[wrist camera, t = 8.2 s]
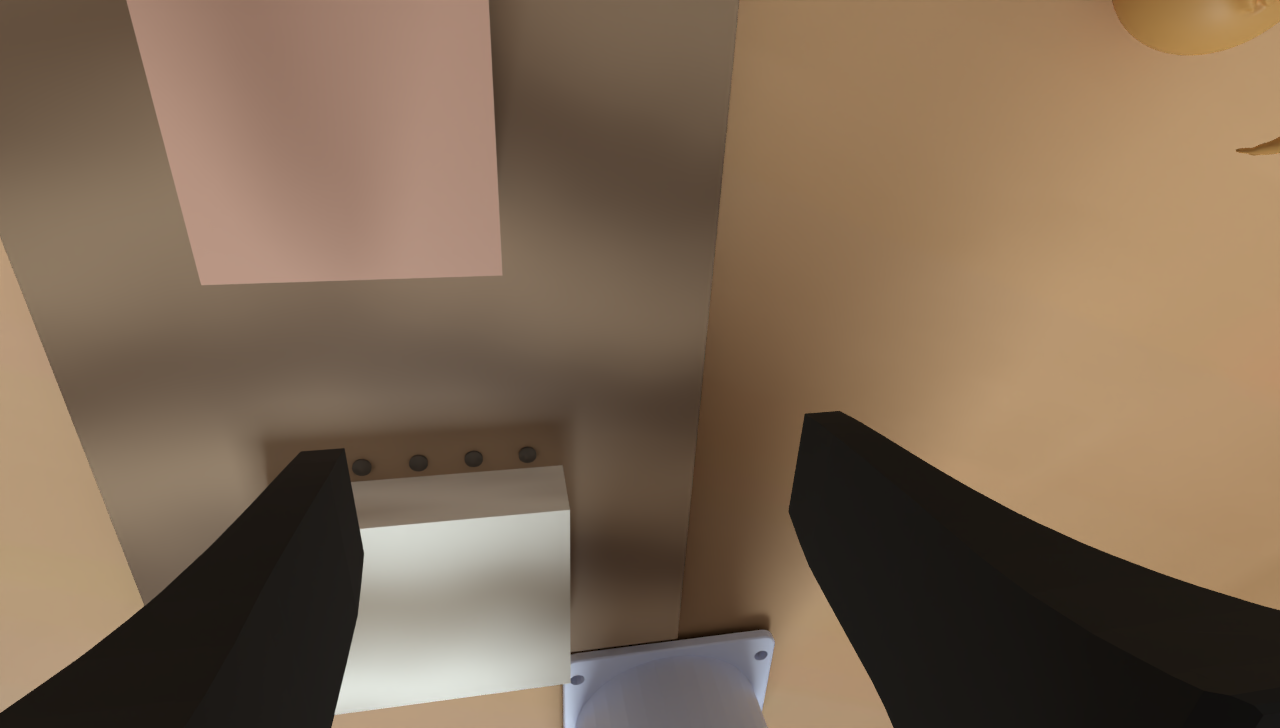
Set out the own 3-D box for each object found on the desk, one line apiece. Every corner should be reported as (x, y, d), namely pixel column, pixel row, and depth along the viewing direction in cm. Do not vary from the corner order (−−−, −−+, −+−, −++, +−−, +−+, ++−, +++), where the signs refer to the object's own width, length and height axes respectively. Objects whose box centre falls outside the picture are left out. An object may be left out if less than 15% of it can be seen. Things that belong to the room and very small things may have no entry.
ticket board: (671, 616, 27) (691, 686, 25) (192, 674, 24) (159, 761, 22) (733, -86, 17) (780, -92, 14) (-109, -137, 14) (-246, -156, 11)
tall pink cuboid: (496, 201, 17) (502, 275, 13) (265, 204, 16) (201, 285, 13) (477, -166, 14) (478, -206, 10) (185, -188, 13) (62, -242, 9)
